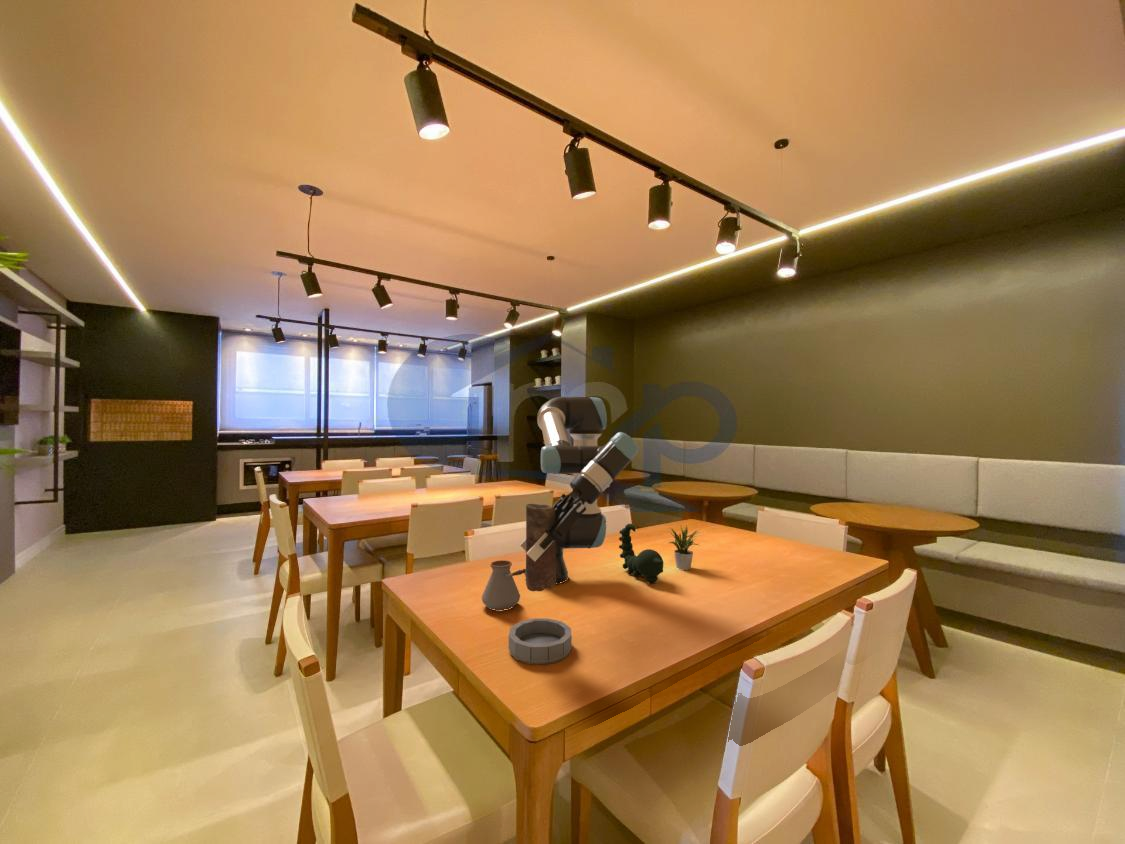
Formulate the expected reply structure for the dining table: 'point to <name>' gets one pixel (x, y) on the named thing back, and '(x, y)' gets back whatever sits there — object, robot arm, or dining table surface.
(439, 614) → the dining table surface
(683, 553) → the house plant
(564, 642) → the candle dish
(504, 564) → the coffee pot
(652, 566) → the toy figurine
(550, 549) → the candle
